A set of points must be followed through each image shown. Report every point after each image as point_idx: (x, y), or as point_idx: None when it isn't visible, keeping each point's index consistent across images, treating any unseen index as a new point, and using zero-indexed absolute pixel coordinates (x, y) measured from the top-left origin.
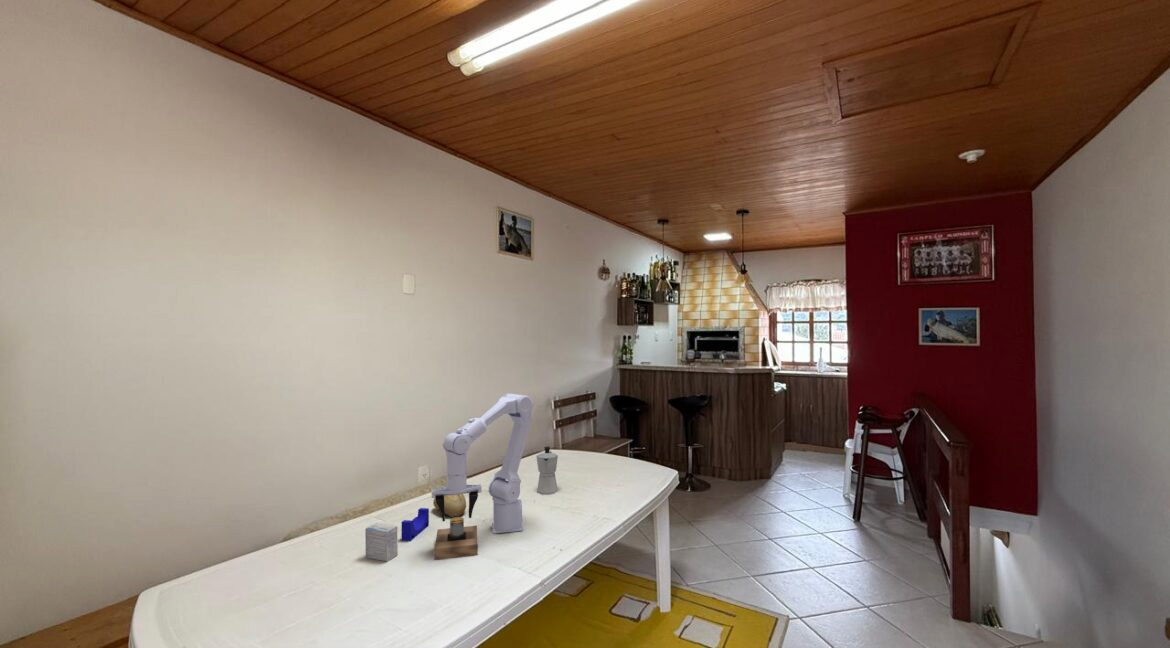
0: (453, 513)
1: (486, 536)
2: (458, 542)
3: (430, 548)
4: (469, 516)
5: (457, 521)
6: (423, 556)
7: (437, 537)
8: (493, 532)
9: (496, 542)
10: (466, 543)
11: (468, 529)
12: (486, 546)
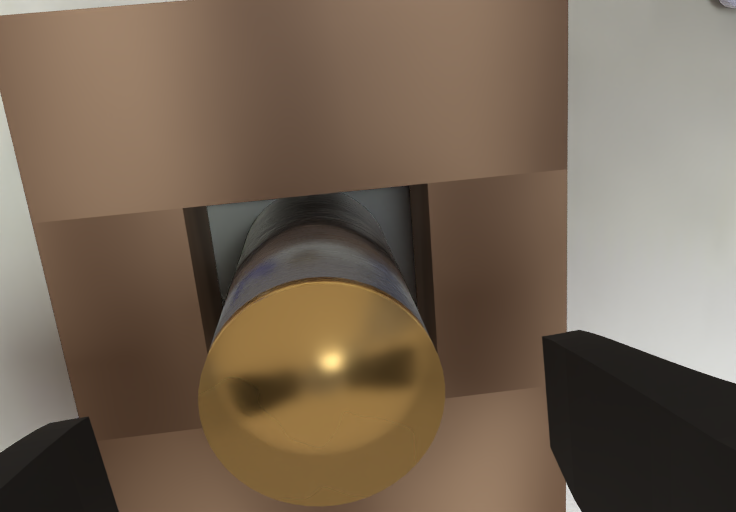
0: None
1: (632, 52)
2: None
3: (29, 269)
4: (569, 472)
5: (345, 480)
6: (13, 433)
7: (66, 300)
8: (729, 1)
9: (719, 230)
10: (449, 496)
11: (453, 105)
12: (615, 306)
